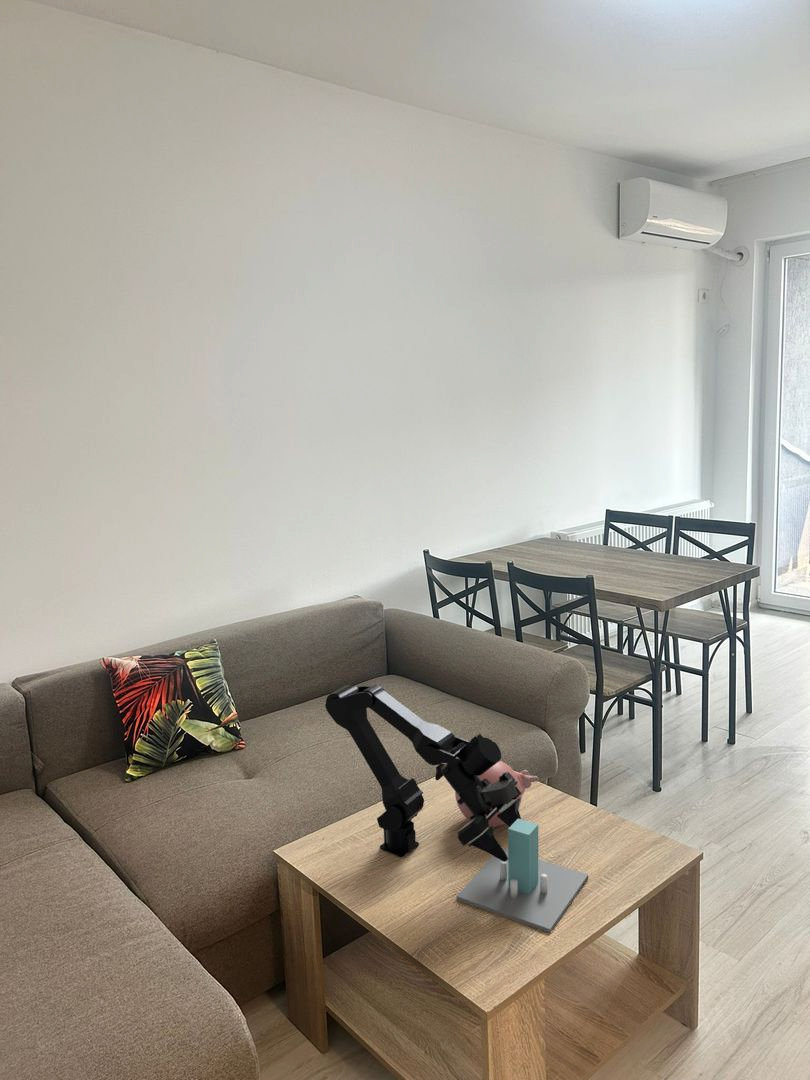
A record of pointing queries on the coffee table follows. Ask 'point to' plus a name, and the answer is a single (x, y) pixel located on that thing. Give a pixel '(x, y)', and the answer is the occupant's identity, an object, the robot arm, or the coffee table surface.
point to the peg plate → (528, 909)
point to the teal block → (523, 855)
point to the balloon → (493, 777)
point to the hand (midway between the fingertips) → (516, 849)
